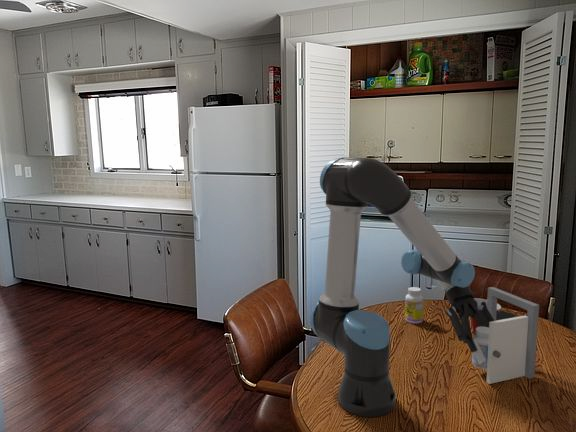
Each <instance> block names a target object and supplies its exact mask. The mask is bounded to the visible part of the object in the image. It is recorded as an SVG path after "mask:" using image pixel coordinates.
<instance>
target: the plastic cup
mask: <svg viewBox="0 0 576 432" xmlns="http://www.w3.org/2000/svg"><path fill="white" fill-rule="evenodd" d="M474 300H476V301H477V302H478V303H482V302H485V303H486V306H487V299H484V298H477V297H476V298H474ZM477 309H478V308H477ZM501 309H502V305H500V304H499V303H498V302H497V313H496V316H497V314H498V312H499V310H501ZM475 315H476V314H475ZM470 321H471V322H470V323H471V327H472V333H473V336H474V335H476V328H477V327H480V326H479V324H478V323H477V322H476V321H475V320H474V319H472V318H471V317H470Z"/></svg>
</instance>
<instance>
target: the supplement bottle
mask: <svg viewBox="0 0 576 432" xmlns="http://www.w3.org/2000/svg"><path fill="white" fill-rule="evenodd" d="M407 292H408V293H407V294H406V295H405V305H404V319H405V321H406V322H408V323H410V324H414V325H415V324H420V323H422V322H423V320H424V319H423V318H424V296H423V295H422V294H421V293H422V289H421V288H420V287H417V286H412V287H411V286H410V287H408V289H407Z"/></svg>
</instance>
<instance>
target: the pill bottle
mask: <svg viewBox="0 0 576 432" xmlns="http://www.w3.org/2000/svg"><path fill="white" fill-rule="evenodd" d="M473 339H476V340H477V342H478V344H479V346H480V348H481V350H482V352H483V354H484V356H485V358H486V361H485V362H483V363H482V364H479V363H478V361H477V359H476V357H475V354H474V352H471V353H472V354H471V363H472V365H473V366H474V367H475V368H476V369H480V370H485V371H487V362H488V342H489V328H488V327H482V326H481V327H477V328H476V335H474V334H473V336H472V340H473Z"/></svg>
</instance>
